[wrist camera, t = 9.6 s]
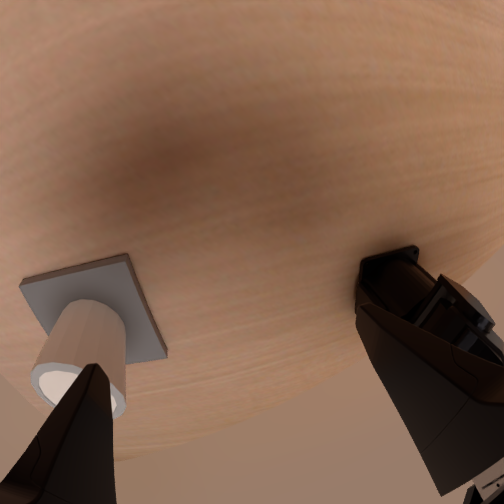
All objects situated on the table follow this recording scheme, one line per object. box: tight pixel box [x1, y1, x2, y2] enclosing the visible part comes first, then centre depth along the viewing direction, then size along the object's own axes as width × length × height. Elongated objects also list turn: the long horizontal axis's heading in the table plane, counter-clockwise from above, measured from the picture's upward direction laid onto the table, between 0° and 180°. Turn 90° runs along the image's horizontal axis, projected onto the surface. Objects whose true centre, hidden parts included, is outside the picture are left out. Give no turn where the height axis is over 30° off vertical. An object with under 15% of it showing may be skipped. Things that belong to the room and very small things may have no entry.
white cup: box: [31, 299, 126, 419], centre depth 18 cm, size 7×7×7 cm
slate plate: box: [19, 254, 167, 364], centre depth 21 cm, size 10×10×1 cm
